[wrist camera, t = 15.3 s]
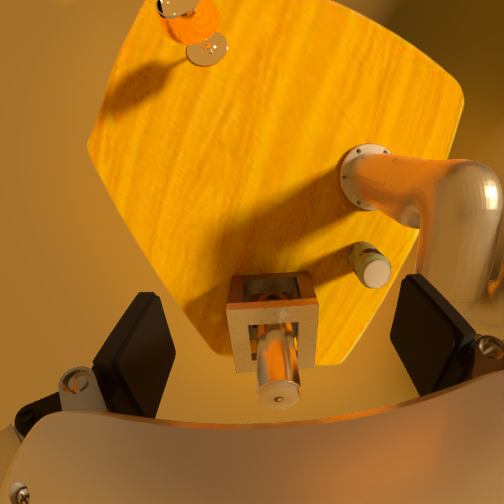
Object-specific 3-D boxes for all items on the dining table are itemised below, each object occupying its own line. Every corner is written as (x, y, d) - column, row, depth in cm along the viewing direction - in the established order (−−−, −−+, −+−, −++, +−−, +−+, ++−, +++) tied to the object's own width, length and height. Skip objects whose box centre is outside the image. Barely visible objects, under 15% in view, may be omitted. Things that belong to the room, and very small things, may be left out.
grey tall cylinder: (281, 319, 58) (292, 414, 35) (253, 312, 58) (250, 408, 34) (292, 295, 56) (310, 389, 33) (263, 287, 55) (265, 382, 32)
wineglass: (226, 67, 39) (206, 22, 21) (183, 66, 39) (140, 27, 21) (231, 31, 36) (216, -25, 18) (189, 31, 36) (154, -19, 18)
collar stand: (307, 271, 54) (318, 304, 43) (305, 330, 59) (314, 367, 48) (232, 276, 54) (225, 310, 43) (239, 334, 60) (236, 372, 49)
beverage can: (359, 272, 54) (380, 303, 42) (335, 252, 52) (354, 281, 41) (379, 250, 52) (405, 277, 41) (356, 228, 50) (380, 252, 39)
